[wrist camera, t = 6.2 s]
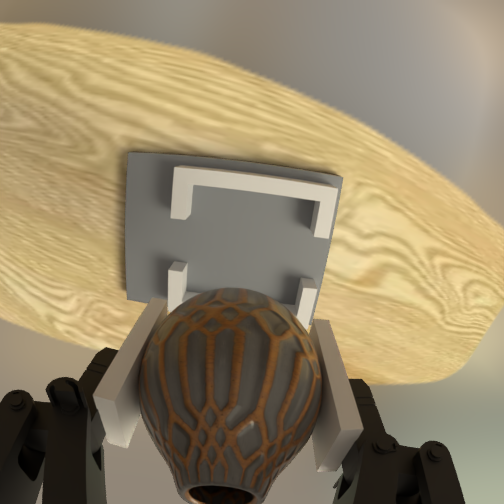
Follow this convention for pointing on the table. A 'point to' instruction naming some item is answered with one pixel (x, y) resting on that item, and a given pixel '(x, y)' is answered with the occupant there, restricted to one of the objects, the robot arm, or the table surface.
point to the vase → (229, 394)
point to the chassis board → (227, 229)
